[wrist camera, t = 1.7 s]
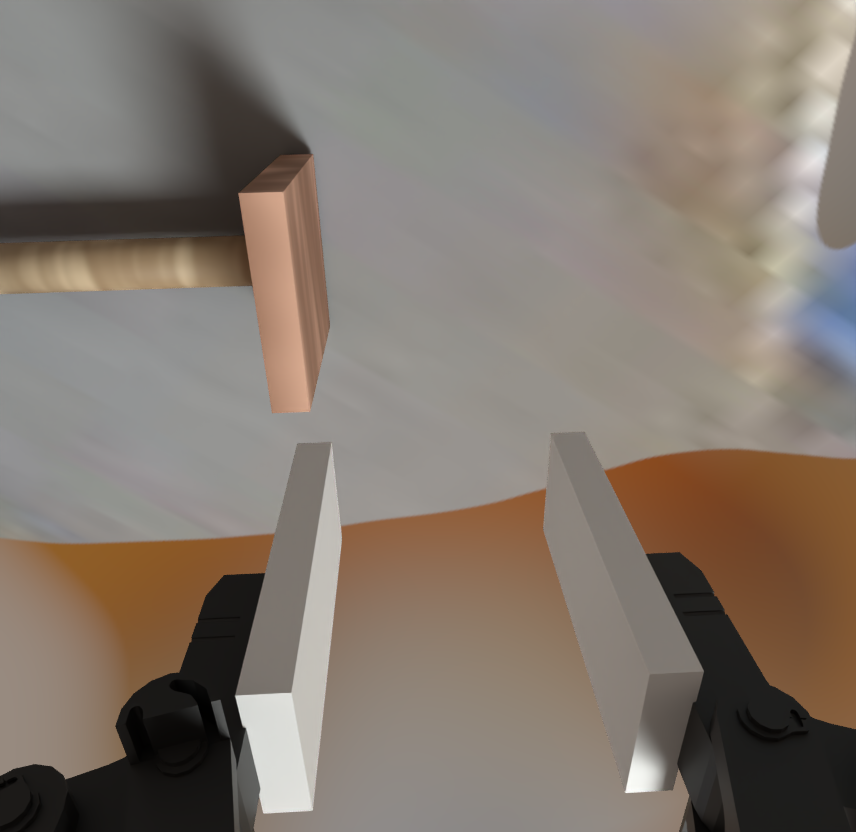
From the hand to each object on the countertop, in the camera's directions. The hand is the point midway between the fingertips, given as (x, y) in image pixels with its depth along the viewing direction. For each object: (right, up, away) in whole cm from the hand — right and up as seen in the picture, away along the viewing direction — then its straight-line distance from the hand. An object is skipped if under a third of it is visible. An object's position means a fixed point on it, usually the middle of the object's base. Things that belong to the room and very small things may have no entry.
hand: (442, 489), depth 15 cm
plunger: (-16, +10, +19) cm, 28 cm away
